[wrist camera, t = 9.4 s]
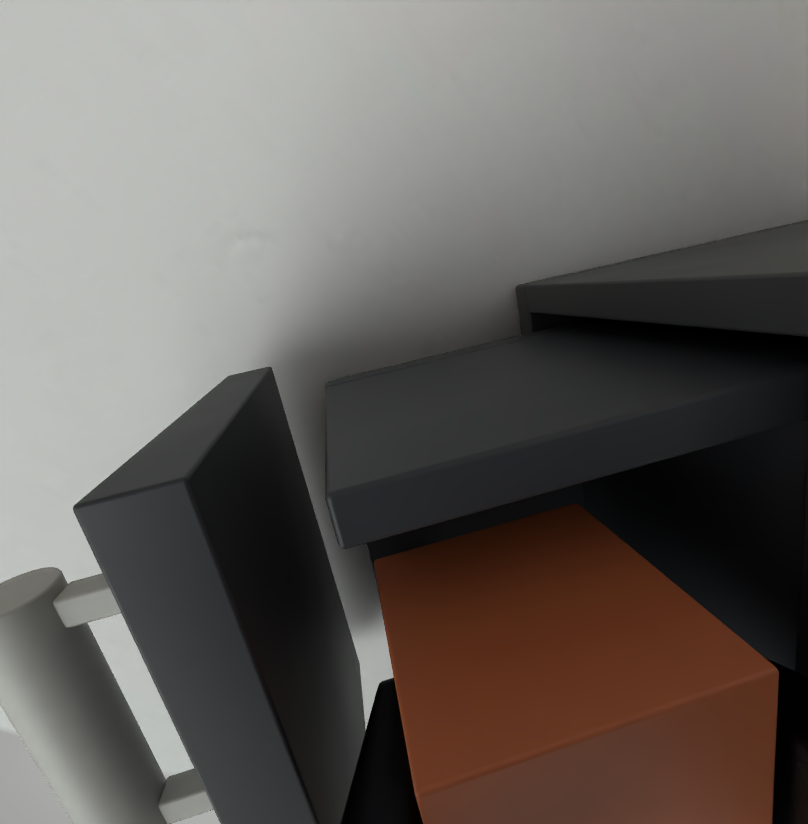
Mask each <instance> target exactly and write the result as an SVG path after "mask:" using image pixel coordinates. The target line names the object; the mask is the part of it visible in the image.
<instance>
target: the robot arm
mask: <svg viewBox="0 0 808 824" xmlns="http://www.w3.org/2000/svg"><path fill="white" fill-rule="evenodd" d="M764 658H765V657H764ZM766 659H767V658H766ZM767 660H768V661H769V662H771V663H772V664H773V665H774V666H775V667H776V668H777V669H778V672H779V683H778V706H777V730H776V753H775V776H774V800H773V823H772V824H808V677H807V676H805V675H803V674H801V673H798V672H796V671H794V670H792V669H789V668H787V667H785V666H783V665H781V664H778V663H776V662H774V661H772V660H769V659H767ZM340 824H423V821H422V817H421V814H420V810H419V807H418V803H417V800H416V796H415V792H414V786H413V781H412V775H411V770H410V764H409V759H408V753H407V747H406V742H405V736H404V731H403V725H402V719H401V714H400V708H399V703H398V697H397V691H396V686H395V680H394V678H391V679H388V680H385V681H382V682H381V683H380V684H379V686H378V689H377V692H376V696H375V700H374V703H373V707H372V711H371V714H370V718H369V721H368V725H367V729H366V732H365V736H364V740H363V743H362V747H361V751H360V754H359V758H358V761H357V765H356V769H355V772H354V776H353V780H352V783H351V787H350V791H349V794H348V798H347V801H346V805H345V809H344V812H343V816H342V820H341V823H340Z"/></svg>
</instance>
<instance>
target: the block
mask: <svg viewBox="0 0 808 824" xmlns="http://www.w3.org/2000/svg"><path fill="white" fill-rule="evenodd" d="M374 569H375V574H376V580H377V585H378V591H379V597H380V602H381V608H382V613H383V619H384V624H385V630H386V636H387V641H388V647H389V652H390V658H391V664H392V669H393V675H394V680H395V686H396V691H397V697H398V703H399V708H400V714H401V719H402V725H403V731H404V736H405V742H406V747H407V753H408V759H409V764H410V770H411V775H412V781H413V786H414V792H415V796H416V800H417V803H418V807H419V810H420V814H421V817H422V821H423V824H772V823H773V800H774V776H775V753H776V730H777V706H778V683H779V672H778V669H777V668H776V667H775V666H774V665H773V664H772V663H771V662H769V661H768V660H767V659H766V658H764V657H763V656H762V655H761V654H760V653H758V652H757V651H756V650H755V649H754V648H752V647H751V646H750V645H749V644H748V643H746V642H745V641H744V640H743V639H741V638H740V637H739V636H738V635H737V634H735V633H734V632H733V631H732V630H731V629H729V628H728V627H727V626H726V625H725V624H723V623H722V622H721V621H720V620H719V619H717V618H716V617H715V616H714V615H712V614H711V613H710V612H709V611H708V610H706V609H705V608H704V607H703V606H702V605H700V604H699V603H698V602H697V601H696V600H694V599H693V598H692V597H691V596H689V595H688V594H687V593H686V592H685V591H683V590H682V589H681V588H680V587H679V586H677V585H676V584H675V583H674V582H673V581H671V580H670V579H669V578H668V577H666V576H665V575H664V574H663V573H662V572H660V571H659V570H658V569H657V568H656V567H654V566H653V565H652V564H651V563H650V562H648V561H647V560H646V559H645V558H643V557H642V556H641V555H640V554H639V553H637V552H636V551H635V550H634V549H633V548H631V547H630V546H629V545H628V544H627V543H625V542H624V541H623V540H622V539H620V538H619V537H618V536H617V535H616V534H614V533H613V532H612V531H611V530H610V529H608V528H607V527H606V526H605V525H604V524H602V523H601V522H600V521H599V520H597V519H596V518H595V517H594V516H593V515H591V514H590V513H589V512H588V511H587V510H585V509H584V508H583V507H582V506H581V505H579V504H578V503H573V504H569V505H566V506H562V507H559V508H555V509H552V510H548V511H545V512H541V513H538V514H534V515H531V516H527V517H524V518H520V519H517V520H513V521H510V522H506V523H503V524H499V525H496V526H492V527H489V528H485V529H482V530H478V531H475V532H471V533H468V534H464V535H461V536H457V537H454V538H450V539H446V540H443V541H439V542H436V543H432V544H429V545H425V546H422V547H418V548H415V549H411V550H408V551H404V552H401V553H397V554H394V555H390V556H387V557H383V558H380V559H376V560H375V561H374Z"/></svg>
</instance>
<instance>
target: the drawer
mask: <svg viewBox="0 0 808 824" xmlns="http://www.w3.org/2000/svg"><path fill="white" fill-rule="evenodd" d="M807 448H808V347H806V346H796V345H787V344H778V343H769V342H759V341H750V340H741V339H732V338H722V337H713V336H704V335H695V334H685V333H676V332H667V331H658V330H648V329H639V328H630V327H621V326H611V325H602V324H593V323H592V324H589V323H581V322H575V323H570V324H566V325H562V326H558V327H553V328H549V329H545V330H541V331H537V332H532V333H528V334H524V335H520V336H516V337H511V338H507V339H503V340H499V341H495V342H490V343H486V344H482V345H478V346H474V347H469V348H465V349H461V350H457V351H453V352H448V353H444V354H440V355H436V356H432V357H427V358H423V359H419V360H415V361H410V362H406V363H402V364H398V365H394V366H389V367H385V368H381V369H377V370H373V371H368V372H364V373H360V374H356V375H352V376H347V377H343V378H339V379H335V380H331V381H327V382H326V412H325V499H326V502H327V506H328V509H329V513H330V516H331V520H332V523H333V527H334V530H335V534H336V537H337V541H338V544H339V545H340V547H341V548H342V549H347V548H350V547H354V546H358V545H361V544H365V543H366V544H367V548H368V551H369V555H370V559H371V563H372V566H373V570H374V574H375V569H374V561H375V560H376V559H380V558H383V557H387V556H390V555H394V554H397V553H401V552H404V551H408V550H411V549H415V548H418V547H422V546H425V545H429V544H432V543H436V542H439V541H443V540H446V539H450V538H454V537H457V536H461V535H464V534H468V533H471V532H475V531H478V530H482V529H485V528H489V527H492V526H496V525H499V524H503V523H506V522H510V521H513V520H517V519H520V518H524V517H527V516H531V515H534V514H538V513H541V512H545V511H548V510H552V509H555V508H559V507H562V506H566V505H569V504H573V503H578V504H579V505H581V506H582V507H583V508H584V509H585V510H587V511H588V512H589V513H590V514H591V515H593V516H594V517H595V518H596V519H597V520H599V521H600V522H601V523H602V524H604V525H605V526H606V527H607V528H608V529H610V530H611V531H612V532H613V533H614V534H616V535H617V536H618V537H619V538H620V539H622V540H623V541H624V542H625V543H627V544H628V545H629V546H630V547H631V548H633V549H634V550H635V551H636V552H637V553H639V554H640V555H641V556H642V557H643V558H645V559H646V560H647V561H648V562H650V563H651V564H652V565H653V566H654V567H656V568H657V569H658V570H659V571H660V572H662V573H663V574H664V575H665V576H666V577H668V578H669V579H670V580H671V581H673V582H674V583H675V584H676V585H677V586H679V587H680V588H681V589H682V590H683V591H685V592H686V593H687V594H688V595H689V596H691V597H692V598H693V599H694V600H696V601H697V602H698V603H699V604H700V605H702V606H703V607H704V608H705V609H706V610H708V611H709V612H710V613H711V614H712V615H714V616H715V617H716V618H717V619H719V620H720V621H721V622H722V623H723V624H725V625H726V626H727V627H728V628H729V629H731V630H732V631H733V632H734V633H735V634H737V635H738V636H739V637H740V638H741V639H743V640H744V641H745V642H746V643H748V644H749V645H750V646H751V647H752V648H754V649H755V650H756V651H757V652H758V653H760V654H761V655H762V656H763V657H765V658H767V659H769V660H772V661H774V662H776V663H778V664H781V665H783V666H785V667H787V668H789V669H792V670H794V671H795V661H796V643H797V625H798V608H799V590H800V572H801V554H802V537H803V519H804V501H805V483H806V466H807ZM73 511H74V513H75V515H76V517H77V519H78V522H79V524H80V526H81V528H82V530H83V532H84V534H85V536H86V539H87V541H88V543H89V545H90V547H91V549H92V551H93V553H94V556H95V558H96V560H97V562H98V564H99V566H100V568H101V570H102V574H98V575H95V576H91V577H87V578H84V579H80V580H76V581H73V582H70V583H69V584H68V583H67V581H66V579H65V577H64V575H63V573H62V571H61V570H59V569H58V568H54V567H48V568H41V569H37V570H33V571H30V572H27V573H24V574H21V575H18V576H16V577H13V578H11V579H9V580H7V581H5V582H2V583H0V705H1V707H2V709H3V710H4V712H5V714H6V715H7V717H8V719H9V720H10V722H11V724H12V725H13V727H14V728H15V730H16V732H17V733H18V735H19V737H20V738H21V740H22V742H23V743H24V745H25V747H26V748H27V750H28V751H29V753H30V755H31V756H32V758H33V760H34V761H35V763H36V765H37V766H38V768H39V769H40V771H41V773H42V774H43V776H44V777H45V779H46V781H47V783H48V784H49V786H50V788H51V789H52V791H53V793H54V794H55V796H56V797H57V799H58V801H59V802H60V804H61V806H62V807H63V809H64V811H65V812H66V814H67V816H68V817H69V819H70V820H71V822H72V824H171V823H174V822H177V821H181V820H184V819H186V818H190V817H193V816H196V815H199V814H202V813H205V812H208V811H211V810H214V811H215V813H216V815H217V817H218V819H219V821H220V823H221V824H340V823H341V820H342V816H343V812H344V809H345V805H346V801H347V798H348V794H349V791H350V787H351V783H352V780H353V776H354V772H355V769H356V765H357V761H358V758H359V754H360V751H361V747H362V743H363V740H364V736H365V732H366V731H365V720H364V709H363V698H362V687H361V676H360V665H359V660H358V657H357V654H356V650H355V647H354V643H353V640H352V637H351V633H350V630H349V627H348V623H347V620H346V616H345V613H344V610H343V606H342V603H341V600H340V596H339V593H338V590H337V586H336V583H335V579H334V576H333V573H332V569H331V566H330V563H329V559H328V556H327V552H326V549H325V546H324V542H323V539H322V536H321V532H320V529H319V526H318V522H317V519H316V515H315V512H314V509H313V505H312V502H311V499H310V495H309V492H308V489H307V485H306V482H305V478H304V475H303V472H302V468H301V465H300V462H299V458H298V455H297V451H296V448H295V445H294V441H293V438H292V435H291V431H290V428H289V425H288V421H287V418H286V414H285V411H284V408H283V404H282V401H281V398H280V394H279V391H278V388H277V384H276V381H275V377H274V374H273V371H272V368H271V367H265V368H261V369H257V370H252V371H248V372H244V373H239V374H235V375H231V376H228V377H227V378H226V379H224V380H223V381H222V382H221V383H220V384H218V385H217V386H216V387H215V388H214V389H212V390H211V391H210V392H209V393H208V394H206V395H205V396H204V397H203V398H202V399H201V400H199V401H198V402H197V403H196V404H195V405H193V406H192V407H191V408H190V409H189V410H187V411H186V412H185V413H184V414H183V415H181V416H180V417H179V418H178V419H177V420H176V421H174V422H173V423H172V424H171V425H170V426H168V427H167V428H166V429H165V430H164V431H162V432H161V433H160V434H159V435H158V436H156V437H155V438H154V439H153V440H152V441H150V442H149V443H148V444H147V445H146V446H145V447H143V448H142V449H141V450H140V451H139V452H137V453H136V454H135V455H134V456H133V457H131V458H130V459H129V460H128V461H127V462H125V463H124V464H123V465H122V466H121V467H119V468H118V469H117V470H116V471H115V472H114V473H112V474H111V475H110V476H109V477H108V478H106V479H105V480H104V481H103V482H102V483H100V484H99V485H98V486H97V487H96V488H94V489H93V490H92V491H91V492H90V493H89V494H87V495H86V496H85V497H84V498H83V499H81V500H80V501H79V502H78V503H77V504H75V505H74V507H73ZM375 578H376V574H375ZM376 581H377V580H376ZM120 613H122V615H123V617H124V619H125V621H126V624H127V626H128V628H129V630H130V632H131V634H132V636H133V638H134V641H135V643H136V645H137V647H138V649H139V651H140V653H141V655H142V658H143V660H144V662H145V664H146V666H147V668H148V670H149V672H150V675H151V677H152V679H153V681H154V683H155V685H156V687H157V689H158V692H159V694H160V696H161V698H162V700H163V702H164V704H165V706H166V709H167V711H168V713H169V715H170V717H171V719H172V721H173V723H174V726H175V728H176V730H177V732H178V734H179V736H180V738H181V740H182V743H183V745H184V747H185V749H186V751H187V753H188V755H189V757H190V760H191V762H192V764H193V766H194V769H191V770H188V771H185V772H182V773H179V774H175V775H172V776H169V777H168V778H167V780H166V779H165V777H164V775H163V773H162V771H161V769H160V767H159V765H158V763H157V761H156V759H155V757H154V755H153V753H152V751H151V749H150V747H149V745H148V743H147V741H146V739H145V737H144V735H143V733H142V731H141V729H140V727H139V725H138V723H137V721H136V719H135V717H134V715H133V713H132V711H131V709H130V707H129V705H128V703H127V701H126V699H125V697H124V695H123V693H122V691H121V689H120V687H119V685H118V683H117V681H116V679H115V677H114V675H113V673H112V671H111V669H110V667H109V665H108V663H107V661H106V659H105V657H104V655H103V653H102V651H101V649H100V647H99V645H98V643H97V641H96V639H95V637H94V635H93V633H92V631H91V629H90V627H89V625H88V622H91V621H95V620H98V619H102V618H106V617H109V616H113V615H116V614H120Z"/></svg>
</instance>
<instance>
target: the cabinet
mask: <svg viewBox="0 0 808 824" xmlns="http://www.w3.org/2000/svg"><path fill="white" fill-rule="evenodd" d="M516 295H517V303H518V310H519V318H520V326H521V333H522V335H524V334H528V333H532V332H537V331H541V330H545V329H549V328H553V327H558V326H562V325H566V324H570V323H575V322H581V323H589V324H592V323H593V324H602V325H611V326H621V327H630V328H639V329H648V330H658V331H667V332H676V333H685V334H695V335H704V336H713V337H722V338H732V339H741V340H750V341H759V342H769V343H778V344H787V345H796V346H806V347H808V220H806V221H801V222H797V223H792V224H788V225H783V226H779V227H775V228H770V229H766V230H761V231H757V232H752V233H748V234H743V235H739V236H734V237H730V238H726V239H721V240H717V241H712V242H708V243H703V244H699V245H694V246H690V247H686V248H681V249H677V250H672V251H668V252H663V253H659V254H654V255H650V256H646V257H641V258H637V259H632V260H628V261H623V262H619V263H614V264H610V265H606V266H601V267H597V268H592V269H588V270H583V271H579V272H574V273H570V274H566V275H561V276H557V277H552V278H548V279H543V280H539V281H534V282H530V283H525V284H521V285H517V286H516ZM795 671H796V672H798V673H801V674H803V675H805V676H807V677H808V448H807V466H806V483H805V501H804V519H803V537H802V554H801V572H800V590H799V608H798V625H797V643H796V661H795Z"/></svg>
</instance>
